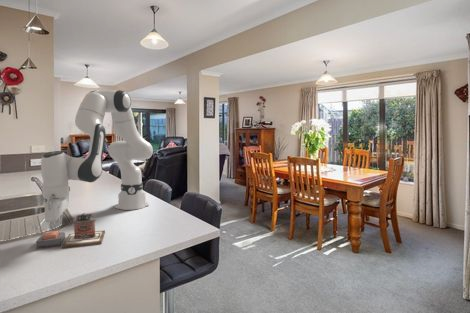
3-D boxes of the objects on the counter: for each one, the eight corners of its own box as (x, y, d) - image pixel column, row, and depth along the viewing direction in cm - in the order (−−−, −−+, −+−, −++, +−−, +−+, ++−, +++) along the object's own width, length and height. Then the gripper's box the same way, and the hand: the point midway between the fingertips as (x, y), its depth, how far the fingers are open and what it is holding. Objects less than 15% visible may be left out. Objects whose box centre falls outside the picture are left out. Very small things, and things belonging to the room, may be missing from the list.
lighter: (73, 239, 115) (71, 215, 114) (75, 236, 118) (74, 213, 117) (94, 237, 117) (93, 214, 116) (96, 234, 120) (95, 211, 119)
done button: (46, 239, 114) (46, 231, 114) (58, 237, 116) (58, 230, 115) (43, 243, 110) (42, 235, 110) (56, 241, 112) (55, 234, 111)
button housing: (42, 241, 116) (42, 234, 115) (65, 238, 118) (64, 231, 118) (36, 249, 108) (35, 241, 108) (60, 246, 111) (59, 238, 110)
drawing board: (69, 236, 121) (69, 233, 121) (104, 232, 125) (104, 229, 125) (61, 248, 109) (61, 245, 108) (101, 243, 113) (101, 241, 113)
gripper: (58, 197, 104) (60, 233, 106) (70, 186, 123) (72, 216, 125) (38, 199, 102) (41, 235, 104) (54, 187, 121) (56, 217, 123)
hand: (58, 225), depth 115 cm, fingers closed
